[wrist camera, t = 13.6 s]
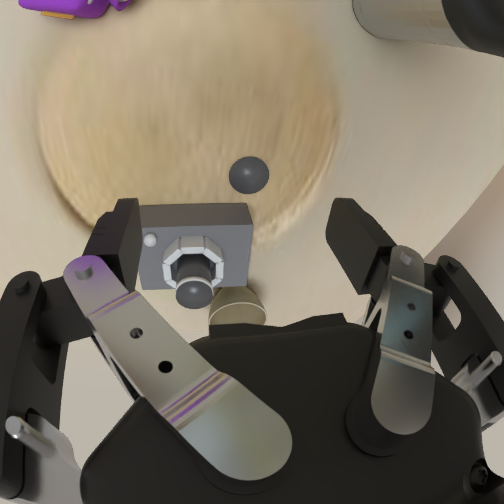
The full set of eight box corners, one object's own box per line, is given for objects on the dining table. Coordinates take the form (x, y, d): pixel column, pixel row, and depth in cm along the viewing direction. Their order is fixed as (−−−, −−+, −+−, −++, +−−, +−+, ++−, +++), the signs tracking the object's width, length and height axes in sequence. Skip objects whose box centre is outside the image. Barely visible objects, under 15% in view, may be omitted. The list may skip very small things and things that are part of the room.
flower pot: (202, 275, 51) (205, 306, 45) (260, 269, 52) (268, 298, 46) (208, 313, 57) (211, 342, 51) (258, 307, 58) (266, 335, 53)
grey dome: (269, 156, 40) (271, 158, 39) (265, 191, 43) (266, 194, 43) (230, 155, 39) (230, 157, 38) (227, 191, 42) (228, 194, 41)
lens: (211, 246, 40) (214, 282, 34) (209, 272, 42) (213, 309, 37) (176, 246, 39) (174, 282, 33) (177, 272, 41) (176, 309, 36)
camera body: (246, 203, 43) (257, 235, 37) (240, 261, 50) (249, 297, 43) (137, 205, 40) (127, 239, 34) (146, 264, 47) (140, 301, 40)
